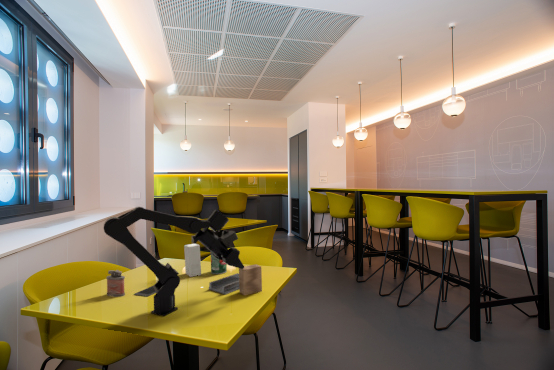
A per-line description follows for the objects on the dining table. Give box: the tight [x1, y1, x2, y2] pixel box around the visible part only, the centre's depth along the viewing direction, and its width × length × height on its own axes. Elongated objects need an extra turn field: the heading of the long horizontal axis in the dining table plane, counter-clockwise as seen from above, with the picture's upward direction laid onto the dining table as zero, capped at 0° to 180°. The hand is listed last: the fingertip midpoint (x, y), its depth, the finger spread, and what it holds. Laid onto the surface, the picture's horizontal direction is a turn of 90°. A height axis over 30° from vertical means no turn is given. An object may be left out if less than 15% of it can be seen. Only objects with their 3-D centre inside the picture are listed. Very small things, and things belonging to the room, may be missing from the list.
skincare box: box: [183, 243, 202, 278], centre depth 143 cm, size 8×6×15 cm
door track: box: [208, 272, 239, 296], centre depth 123 cm, size 16×10×3 cm, turn 141°
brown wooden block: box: [238, 263, 263, 296], centre depth 116 cm, size 8×4×10 cm, turn 121°
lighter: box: [106, 269, 126, 298], centre depth 117 cm, size 8×3×10 cm, turn 74°
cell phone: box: [133, 284, 156, 298], centre depth 121 cm, size 7×14×1 cm, turn 160°
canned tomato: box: [210, 254, 228, 275], centre depth 146 cm, size 8×8×11 cm
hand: (238, 265), depth 114 cm, fingers open, 9 cm apart
